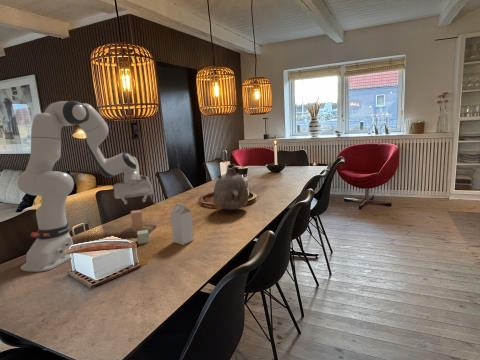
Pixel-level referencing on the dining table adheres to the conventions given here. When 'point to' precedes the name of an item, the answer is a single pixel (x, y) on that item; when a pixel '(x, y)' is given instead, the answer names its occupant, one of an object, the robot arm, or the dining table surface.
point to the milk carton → (182, 224)
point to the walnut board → (130, 233)
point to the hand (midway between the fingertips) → (135, 202)
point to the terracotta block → (137, 220)
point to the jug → (230, 190)
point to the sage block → (143, 236)
